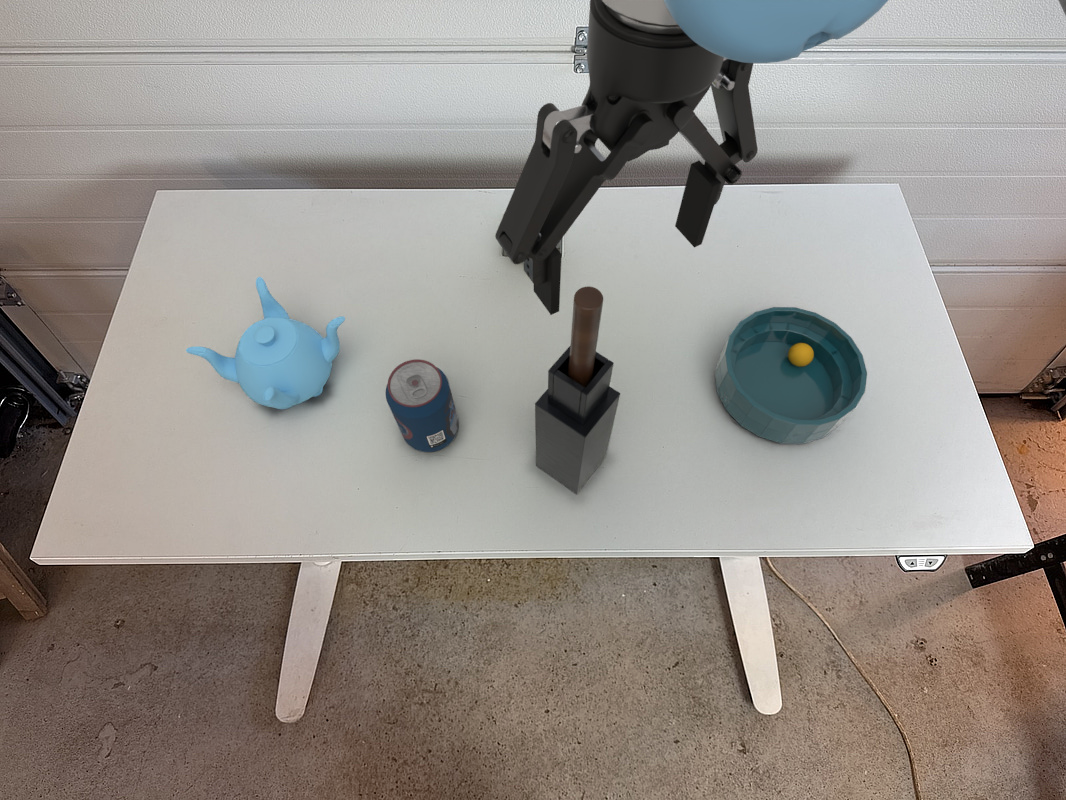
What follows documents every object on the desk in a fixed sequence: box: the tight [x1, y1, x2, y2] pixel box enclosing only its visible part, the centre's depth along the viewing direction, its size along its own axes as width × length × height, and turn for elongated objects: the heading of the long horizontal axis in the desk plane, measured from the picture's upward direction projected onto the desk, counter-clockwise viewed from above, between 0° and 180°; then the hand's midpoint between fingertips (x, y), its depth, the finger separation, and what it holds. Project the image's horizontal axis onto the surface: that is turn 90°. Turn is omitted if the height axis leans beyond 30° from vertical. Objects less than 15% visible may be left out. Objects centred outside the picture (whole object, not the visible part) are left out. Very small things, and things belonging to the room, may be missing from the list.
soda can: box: [385, 358, 460, 453], centre depth 72 cm, size 7×7×12 cm
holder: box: [534, 345, 621, 495], centre depth 66 cm, size 6×6×22 cm
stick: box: [568, 285, 604, 387], centre depth 54 cm, size 2×2×16 cm
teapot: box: [185, 276, 346, 410], centre depth 77 cm, size 13×13×10 cm
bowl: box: [714, 306, 868, 445], centre depth 77 cm, size 16×16×6 cm
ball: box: [788, 343, 814, 367], centre depth 80 cm, size 3×3×3 cm
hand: (619, 267), depth 51 cm, fingers open, 13 cm apart
